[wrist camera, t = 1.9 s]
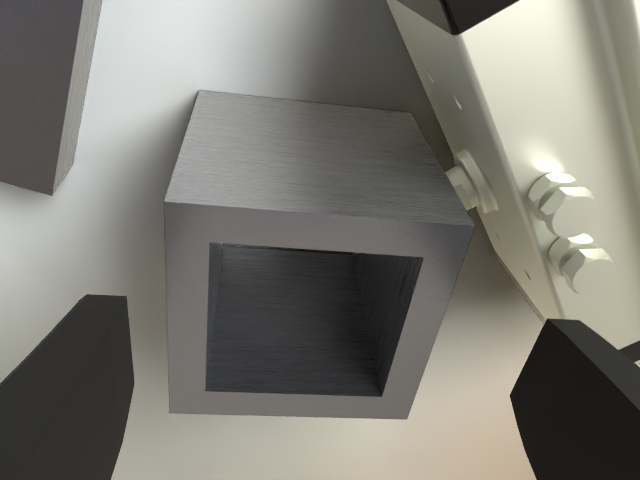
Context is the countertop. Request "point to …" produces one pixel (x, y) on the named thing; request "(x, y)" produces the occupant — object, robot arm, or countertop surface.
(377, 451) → the countertop surface
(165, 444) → the countertop surface
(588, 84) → the pneumatic valve
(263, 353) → the hollow square tube
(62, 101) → the ratchet
